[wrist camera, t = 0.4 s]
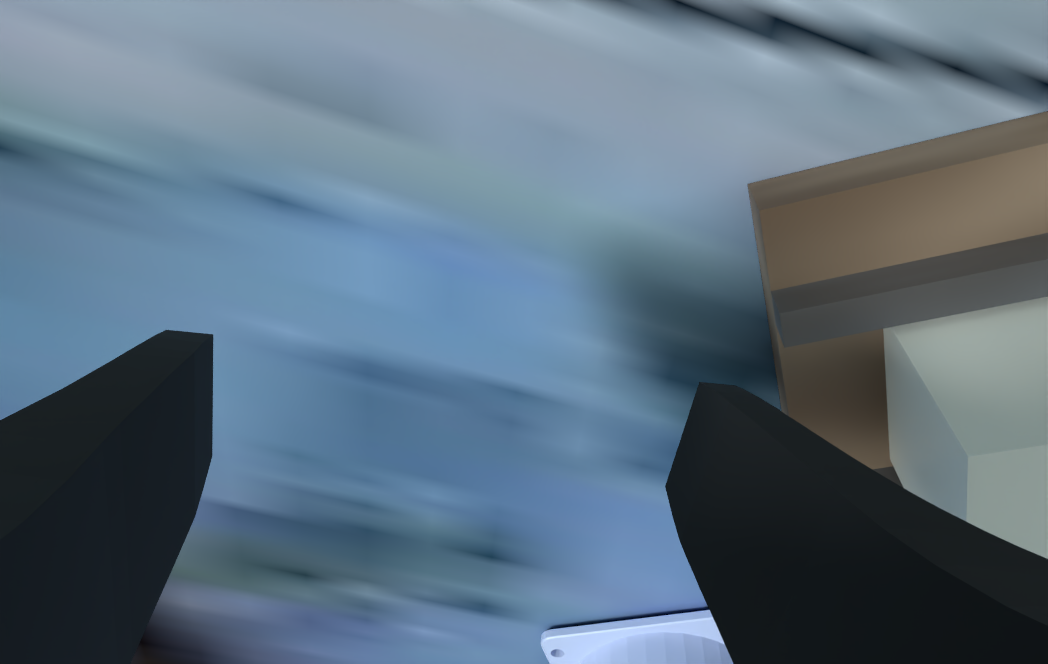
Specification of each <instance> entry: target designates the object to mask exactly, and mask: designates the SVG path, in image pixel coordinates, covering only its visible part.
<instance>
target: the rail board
mask: <svg viewBox="0 0 1048 664" xmlns="http://www.w3.org/2000/svg"><path fill="white" fill-rule="evenodd" d="M748 190H749V197H750V203H751V210H752V217H753V223H754V230H755V237H756V243H757V250H758V257H759V263H760V270H761V277H762V283H763V290H764V297H765V303H766V310H767V317H768V323H769V330H770V336H771V343H772V350H773V356H774V363H775V370H776V376H777V383H778V390H779V396H780V403H781V410H782V412H783V413H785V414H786V415H788V416H789V417H791V418H792V419H794V420H795V421H797V422H799V423H800V424H802V425H803V426H805V427H806V428H808V429H809V430H811V431H812V432H814V433H815V434H817V435H819V436H820V437H822V438H823V439H825V440H826V441H828V442H829V443H831V444H832V445H834V446H836V447H837V448H839V449H840V450H842V451H843V452H845V453H847V454H848V455H850V456H851V457H853V458H854V459H856V460H858V461H859V462H861V463H863V464H864V465H866V466H867V467H869V468H871V469H872V470H874V471H876V472H877V473H879V474H881V475H882V476H884V477H886V478H887V479H889V480H891V481H893V482H894V483H896V484H898V485H899V486H901V487H903V486H902V483H901V481H900V479H899V477H898V475H897V473H896V471H895V469H894V466H893V464H892V462H891V460H890V450H889V430H888V411H887V391H886V372H885V353H884V333H883V329H884V328H889V327H894V326H899V325H904V324H910V323H915V322H920V321H925V320H930V319H935V318H941V317H946V316H951V315H956V314H961V313H966V312H971V311H977V310H982V309H987V308H992V307H997V306H1002V305H1007V304H1013V303H1018V302H1023V301H1028V300H1033V299H1038V298H1043V297H1048V111H1047V112H1042V113H1038V114H1034V115H1030V116H1026V117H1022V118H1018V119H1014V120H1009V121H1005V122H1001V123H997V124H993V125H989V126H985V127H981V128H977V129H972V130H968V131H964V132H960V133H956V134H952V135H948V136H944V137H939V138H935V139H931V140H927V141H923V142H919V143H915V144H911V145H906V146H902V147H898V148H894V149H890V150H886V151H882V152H878V153H874V154H869V155H865V156H861V157H857V158H853V159H849V160H845V161H841V162H836V163H832V164H828V165H824V166H820V167H816V168H812V169H808V170H803V171H799V172H795V173H791V174H787V175H783V176H779V177H775V178H770V179H766V180H762V181H758V182H754V183H750V184H748Z"/></svg>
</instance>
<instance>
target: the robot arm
mask: <svg viewBox="0 0 1048 664" xmlns="http://www.w3.org/2000/svg"><path fill="white" fill-rule="evenodd" d="M212 417H213V334H203V333H193V332H182V331H172V330H165V331H163V332H161V333H159V334H157V335H155V336H153V337H151V338H150V339H148V340H146V341H144V342H143V343H141V344H139V345H137V346H136V347H134V348H132V349H131V350H129V351H127V352H126V353H124V354H122V355H120V356H119V357H117V358H115V359H114V360H112V361H110V362H109V363H107V364H105V365H103V366H102V367H100V368H98V369H96V370H95V371H93V372H91V373H89V374H88V375H86V376H84V377H82V378H81V379H79V380H77V381H75V382H74V383H72V384H70V385H68V386H66V387H65V388H63V389H61V390H59V391H57V392H55V393H53V394H51V395H49V396H47V397H45V398H43V399H41V400H39V401H37V402H35V403H33V404H31V405H29V406H28V407H26V408H24V409H22V410H20V411H18V412H16V413H14V414H12V415H10V416H8V417H6V418H4V419H2V420H0V664H130V663H131V661H132V658H133V656H134V654H135V651H136V649H137V647H138V645H139V642H140V640H141V638H142V636H143V633H144V631H145V629H146V627H147V624H148V622H149V620H150V618H151V615H152V613H153V611H154V609H155V606H156V604H157V602H158V600H159V597H160V595H161V593H162V591H163V588H164V586H165V584H166V582H167V579H168V577H169V575H170V573H171V570H172V568H173V566H174V564H175V561H176V559H177V557H178V555H179V552H180V550H181V548H182V545H183V543H184V541H185V539H186V536H187V534H188V532H189V529H190V527H191V525H192V522H193V520H194V518H195V515H196V511H197V508H198V505H199V501H200V498H201V494H202V491H203V488H204V484H205V480H206V477H207V473H208V469H209V466H210V462H211V459H212ZM665 487H666V491H667V495H668V499H669V503H670V507H671V511H672V515H673V519H674V522H675V526H676V529H677V533H678V536H679V540H680V543H681V545H682V547H683V550H684V552H685V555H686V557H687V559H688V562H689V564H690V566H691V569H692V571H693V573H694V576H695V578H696V580H697V583H698V585H699V587H700V590H701V592H702V594H703V596H704V599H705V601H706V603H707V605H708V608H709V610H704V611H695V612H687V613H679V614H671V615H663V616H655V617H647V618H639V619H631V620H622V621H614V622H606V623H598V624H590V625H582V626H574V627H566V628H558V629H550V630H547V631H545V632H544V633H543V634H542V635H541V646H542V648H543V651H544V653H545V655H546V657H547V659H548V661H549V663H550V664H1048V559H1047V558H1044V557H1042V556H1040V555H1037V554H1035V553H1033V552H1030V551H1028V550H1026V549H1023V548H1021V547H1019V546H1016V545H1014V544H1012V543H1010V542H1008V541H1005V540H1003V539H1001V538H999V537H997V536H995V535H993V534H990V533H988V532H986V531H984V530H982V529H980V528H978V527H976V526H974V525H972V524H970V523H968V522H966V521H964V520H962V519H960V518H958V517H956V516H954V515H952V514H950V513H949V512H947V511H945V510H943V509H941V508H939V507H937V506H935V505H933V504H931V503H929V502H928V501H926V500H924V499H922V498H920V497H918V496H917V495H915V494H913V493H911V492H910V491H908V490H906V489H904V488H903V487H901V486H899V485H898V484H896V483H894V482H893V481H891V480H889V479H887V478H886V477H884V476H882V475H881V474H879V473H877V472H876V471H874V470H872V469H871V468H869V467H867V466H866V465H864V464H863V463H861V462H859V461H858V460H856V459H854V458H853V457H851V456H850V455H848V454H847V453H845V452H843V451H842V450H840V449H839V448H837V447H836V446H834V445H832V444H831V443H829V442H828V441H826V440H825V439H823V438H822V437H820V436H819V435H817V434H815V433H814V432H812V431H811V430H809V429H808V428H806V427H805V426H803V425H802V424H800V423H799V422H797V421H795V420H794V419H792V418H791V417H789V416H788V415H786V414H785V413H783V412H781V411H780V410H778V409H777V408H775V407H773V406H772V405H770V404H769V403H767V402H765V401H764V400H762V399H760V398H759V397H757V396H755V395H753V394H751V393H750V392H748V391H746V390H744V389H742V388H739V387H737V386H734V385H724V384H714V383H704V382H699V385H698V388H697V391H696V394H695V397H694V400H693V404H692V407H691V410H690V413H689V416H688V419H687V422H686V425H685V428H684V431H683V434H682V437H681V440H680V443H679V446H678V449H677V452H676V455H675V458H674V461H673V464H672V468H671V471H670V474H669V477H668V480H667V483H666V486H665Z"/></svg>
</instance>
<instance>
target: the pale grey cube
mask: <svg viewBox="0 0 1048 664" xmlns="http://www.w3.org/2000/svg"><path fill="white" fill-rule="evenodd" d="M883 333H884V353H885V372H886V391H887V411H888V430H889V450H890V460H891V462H892V464H893V466H894V469H895V471H896V473H897V475H898V477H899V479H900V481H901V483H902V486H903V488H904V489H906V490H908V491H910V492H911V493H913V494H915V495H917V496H918V497H920V498H922V499H924V500H926V501H928V502H929V503H931V504H933V505H935V506H937V507H939V508H941V509H943V510H945V511H947V512H949V513H950V514H952V515H954V516H956V517H958V518H960V519H962V520H964V521H966V522H968V523H970V524H972V525H974V526H976V527H978V528H980V529H982V530H984V531H986V532H988V533H990V534H993V535H995V536H997V537H999V538H1001V539H1003V540H1005V541H1008V542H1010V543H1012V544H1014V545H1016V546H1019V547H1021V548H1023V549H1026V550H1028V551H1030V552H1033V553H1035V554H1037V555H1040V556H1042V557H1044V558H1047V559H1048V297H1043V298H1038V299H1033V300H1028V301H1023V302H1018V303H1013V304H1007V305H1002V306H997V307H992V308H987V309H982V310H977V311H971V312H966V313H961V314H956V315H951V316H946V317H941V318H935V319H930V320H925V321H920V322H915V323H910V324H904V325H899V326H894V327H889V328H884V329H883Z"/></svg>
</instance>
